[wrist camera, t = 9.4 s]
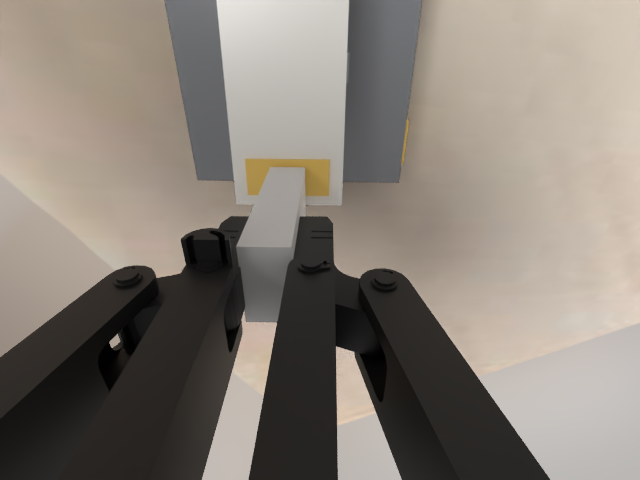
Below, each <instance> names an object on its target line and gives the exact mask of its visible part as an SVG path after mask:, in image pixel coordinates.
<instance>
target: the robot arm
mask: <svg viewBox="0 0 640 480" xmlns="http://www.w3.org/2000/svg"><path fill="white" fill-rule="evenodd" d="M181 243H182V248H183V252H184V257H185V262H186V266H185V267H184V269H183V271H182V272H181V274H177V275H172V276H166V277H161V278H156V275H155V272H154V271H153V270H152V269H151V268H149V267H146V266H128V267H124V268H122V269H119V270H116V271H114V272H113V273H111V274H109V275H108V276H106V277H105V278H104V279H102V280H101V281H100V282H98V283H97V284H96V285H95V286H93V287H92V288H91V289H89V290H88V291H87V292H85V293H84V294H83V295H82V296H80V297H79V298H78V299H76V300H75V301H74V302H72V303H71V304H70V305H68V306H67V307H66V308H64V309H63V310H62V311H61V312H59V313H58V314H57V315H55V316H54V317H53V318H51V319H50V320H49V321H47V322H46V323H45V324H44V325H42V326H41V327H39V328H38V329H37V330H36V331H34V332H33V333H32V334H30V335H29V336H28V337H26V338H25V339H24V340H23V341H21V342H20V343H19V344H17V345H16V346H15V347H13V348H12V349H11V350H9V351H8V352H7V353H5V354H4V355H3V356H2V357H0V480H202V476H203V473H204V469H205V466H206V462H207V458H208V455H209V451H210V448H211V444H212V440H213V437H214V433H215V430H216V426H217V423H218V419H219V415H220V411H221V408H222V405H223V401H224V397H225V394H226V390H227V387H228V383H229V380H230V376H231V373H232V369H233V366H234V362H235V358H236V355H237V351H238V348H239V344H240V341H241V337H242V322H241V318H242V315H243V312H244V311H245V318H246V322H277V327H276V332H275V338H274V343H273V349H272V354H271V360H270V365H269V371H268V376H267V382H266V387H265V393H264V398H263V404H262V410H261V415H260V421H259V426H258V431H257V437H256V442H255V448H254V453H253V459H252V465H251V470H250V475H249V480H338V468H337V399H336V346H337V347H340V348H344V349H347V350H350V351H354V353H355V358H356V361H357V364H358V366H359V369H360V371H361V374H362V377H363V379H364V382H365V384H366V387H367V390H368V392H369V395H370V397H371V400H372V403H373V405H374V408H375V411H376V413H377V416H378V418H379V421H380V424H381V426H382V429H383V431H384V434H385V437H386V439H387V442H388V444H389V447H390V450H391V452H392V455H393V457H394V460H395V463H396V465H397V468H398V470H399V473H400V476H401V478H402V480H550V479H549V477H548V476H547V474H546V473H545V472H544V470H543V469H542V468H541V466H540V465H539V463H538V462H537V460H536V459H535V458H534V456H533V455H532V453H531V452H530V451H529V449H528V448H527V446H526V445H525V444H524V442H523V441H522V439H521V438H520V436H519V435H518V434H517V432H516V431H515V429H514V428H513V427H512V425H511V424H510V422H509V421H508V420H507V418H506V417H505V415H504V414H503V413H502V411H501V410H500V408H499V407H498V406H497V404H496V403H495V401H494V400H493V399H492V397H491V396H490V394H489V393H488V391H487V390H486V389H485V387H484V386H483V384H482V383H481V382H480V380H479V379H478V377H477V376H476V375H475V373H474V372H473V370H472V369H471V367H470V366H469V365H468V363H467V362H466V360H465V359H464V358H463V356H462V355H461V353H460V352H459V351H458V349H457V348H456V346H455V345H454V344H453V342H452V341H451V339H450V338H449V337H448V335H447V334H446V332H445V331H444V329H443V328H442V327H441V325H440V324H439V322H438V321H437V320H436V318H435V317H434V315H433V314H432V313H431V311H430V310H429V308H428V307H427V306H426V304H425V303H424V301H423V300H422V299H421V297H420V296H419V294H418V293H417V291H416V290H415V289H414V287H413V286H412V284H411V283H410V282H409V280H408V279H407V278H406V277H405V276H404V275H403V274H401V273H398V272H396V271H394V270H390V269H373V270H369V271H367V272H365V273H364V274H362V276H361V278H360V279H358V278H354V277H351V276H347V275H345V274H343V273H341V272H340V271H339V270H338V269H337V268H336V267H335V265H334V257H333V223H332V222H331V221H330V220H329V218H328V217H306V190H305V167H270V169H269V171H268V173H267V176H266V178H265V180H264V183H263V185H262V187H261V190H260V192H259V194H258V197H257V199H256V201H255V204H254V206H253V208H252V211H251V213H250V215H249V217H240V216H231V217H229V218H228V219H226V220H225V221H224V222H222V223H221V225H220V227H219V229H215V228H207V229H200V230H196V231H193V232H191V233H188V234H186V235H185V236H184V237H183V238H182V239H181ZM116 334H118V336H119V338H120V341H121V342H120V343H119V344H118V345H116V346H115V347H114V348H111V346H110V344H109V341H110V340H111V339H112V338H113V337H114V336H116Z"/></svg>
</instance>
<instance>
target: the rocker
mask: <svg viewBox="0 0 640 480" xmlns="http://www.w3.org/2000/svg"><path fill="white" fill-rule="evenodd" d="M216 1H217V11H218V22H219V32H220V42H221V53H222V63H223V73H224V84H225V94H226V104H227V114H228V125H229V135H230V145H231V156H232V166H233V176H234V186H235V197H236V205H254V204H255V201H256V199H257V197H258V194H259V192H260V190H261V187H262V185H263V183H264V180H265V178H266V176H267V173H268V171H269V169H270V167H305V190H306V205H316V206H342V188H343V159H344V130H345V101H346V72H347V43H348V15H349V0H216Z"/></svg>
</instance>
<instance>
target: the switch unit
mask: <svg viewBox="0 0 640 480" xmlns="http://www.w3.org/2000/svg"><path fill="white" fill-rule="evenodd" d="M421 5H422V0H349V15H348V43H347V72H346V101H345V130H344V159H343V182H395V183H399V177H400V169H401V164H404V156H405V149H406V141H407V134H408V126H409V120H408V119H407V115H408V107H409V99H410V91H411V83H412V76H413V68H414V60H415V52H416V44H417V36H418V29H419V21H420V13H421ZM165 6H166V11H167V16H168V22H169V27H170V33H171V38H172V43H173V49H174V54H175V60H176V65H177V71H178V76H179V81H180V87H181V92H182V98H183V103H184V108H185V114H186V119H187V125H188V130H189V135H190V141H191V146H192V152H193V157H194V163H195V168H196V173H197V179H198V180H222V181H234V176H233V166H232V156H231V145H230V135H229V125H228V114H227V104H226V94H225V84H224V73H223V63H222V53H221V42H220V32H219V22H218V11H217V1H216V0H165Z"/></svg>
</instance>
